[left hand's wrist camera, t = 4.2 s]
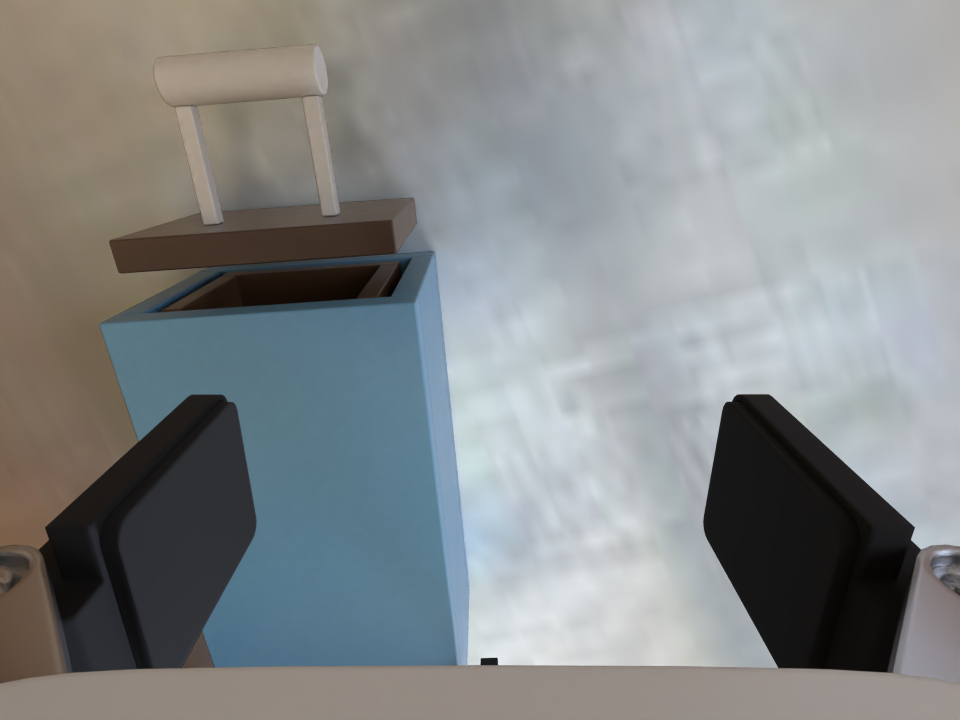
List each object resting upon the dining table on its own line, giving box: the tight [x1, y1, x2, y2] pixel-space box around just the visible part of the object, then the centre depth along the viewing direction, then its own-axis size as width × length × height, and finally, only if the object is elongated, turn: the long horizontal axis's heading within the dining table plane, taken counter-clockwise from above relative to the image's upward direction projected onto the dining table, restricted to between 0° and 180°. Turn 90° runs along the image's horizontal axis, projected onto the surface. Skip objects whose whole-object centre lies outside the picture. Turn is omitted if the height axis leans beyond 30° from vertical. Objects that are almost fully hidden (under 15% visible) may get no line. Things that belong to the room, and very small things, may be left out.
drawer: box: [109, 44, 417, 312], centre depth 26 cm, size 26×10×7 cm, turn 4°
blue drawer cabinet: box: [99, 251, 469, 668], centre depth 28 cm, size 22×11×9 cm, turn 4°
